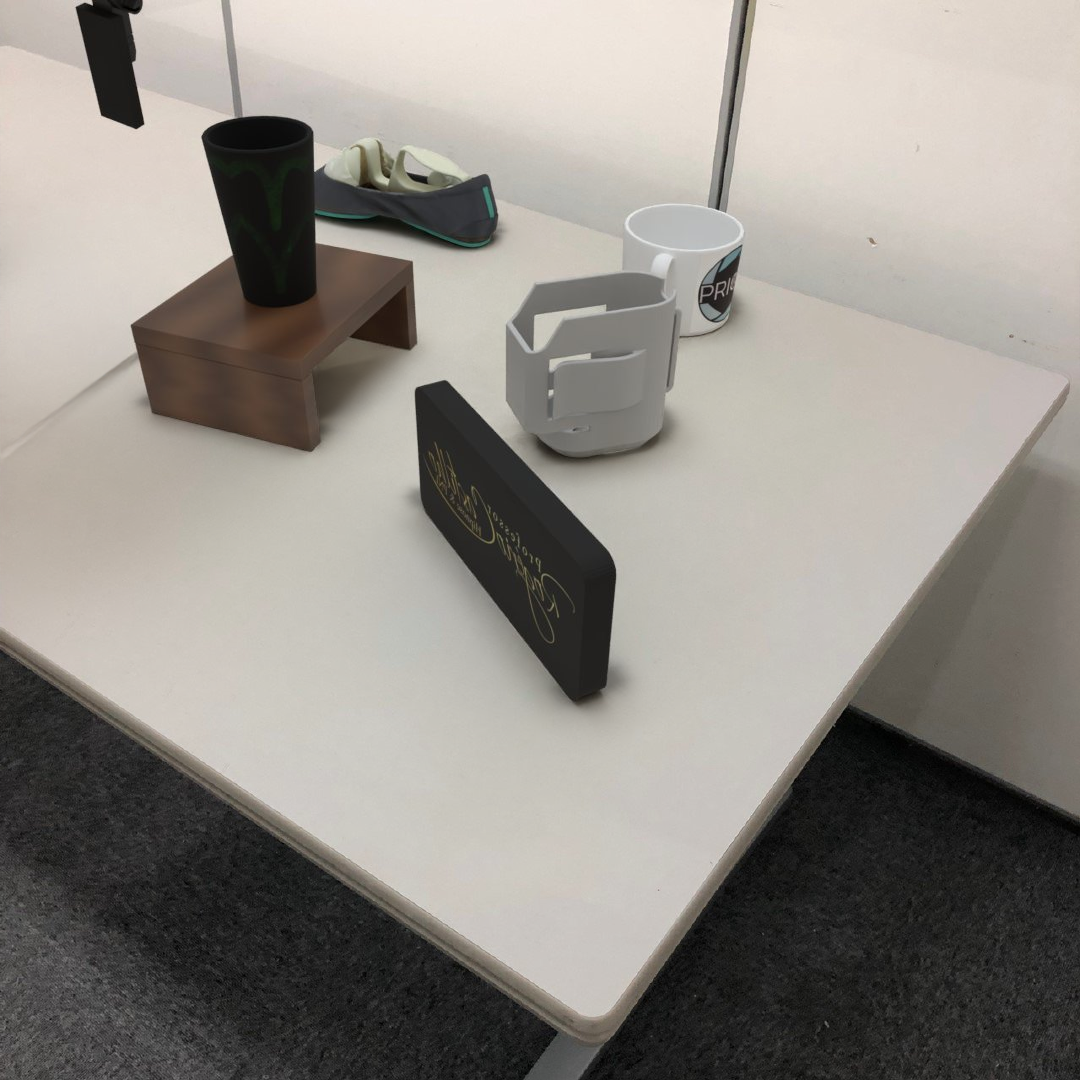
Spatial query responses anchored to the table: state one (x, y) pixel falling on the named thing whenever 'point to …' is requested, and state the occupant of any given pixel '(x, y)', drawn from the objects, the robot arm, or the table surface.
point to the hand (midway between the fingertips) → (41, 170)
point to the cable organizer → (595, 362)
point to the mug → (687, 258)
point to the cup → (267, 204)
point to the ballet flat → (407, 192)
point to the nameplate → (517, 539)
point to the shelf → (268, 344)
